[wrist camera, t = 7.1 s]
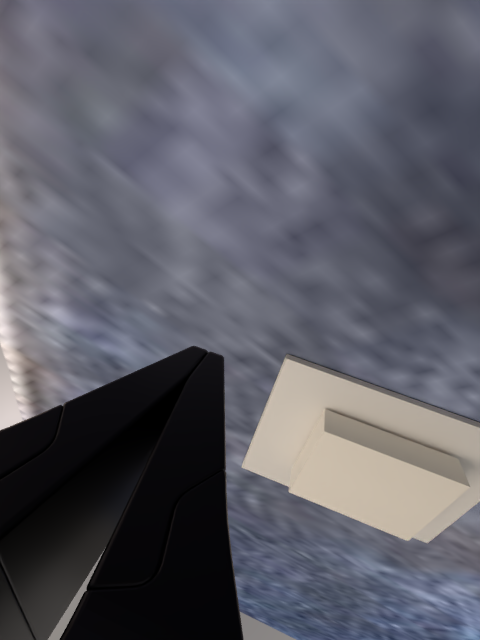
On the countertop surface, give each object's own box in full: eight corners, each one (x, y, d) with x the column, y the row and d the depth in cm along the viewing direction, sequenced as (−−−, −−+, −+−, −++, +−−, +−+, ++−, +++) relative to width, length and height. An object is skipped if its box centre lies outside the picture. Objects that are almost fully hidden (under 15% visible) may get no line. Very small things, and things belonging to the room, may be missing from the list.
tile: (324, 406, 23) (456, 455, 22) (291, 465, 27) (401, 510, 26) (324, 431, 21) (470, 487, 20) (288, 491, 25) (408, 541, 24)
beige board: (537, 443, 20) (542, 450, 20) (425, 536, 28) (427, 543, 27) (286, 353, 22) (285, 358, 22) (243, 462, 30) (241, 467, 29)
